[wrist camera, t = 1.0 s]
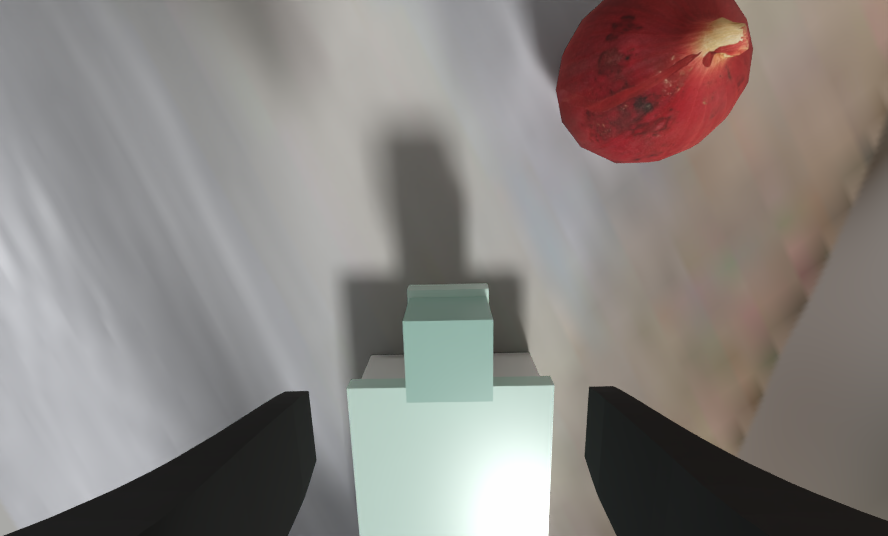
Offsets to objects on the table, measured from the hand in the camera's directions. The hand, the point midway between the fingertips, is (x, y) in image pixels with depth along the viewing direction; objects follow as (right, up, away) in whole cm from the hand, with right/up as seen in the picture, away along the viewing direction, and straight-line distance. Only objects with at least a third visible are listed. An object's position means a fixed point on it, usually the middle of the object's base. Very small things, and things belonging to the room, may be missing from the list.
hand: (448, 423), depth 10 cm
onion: (+7, +12, +8) cm, 15 cm away
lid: (0, -5, +9) cm, 10 cm away
